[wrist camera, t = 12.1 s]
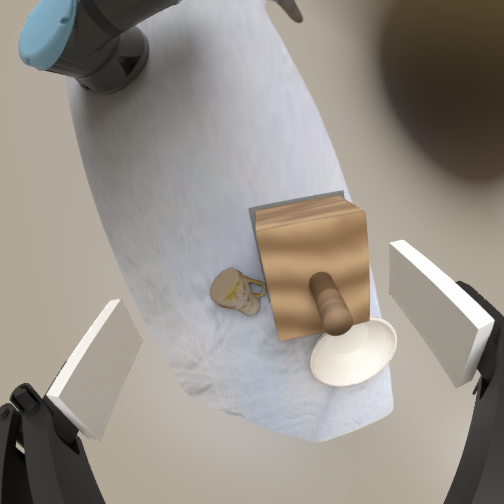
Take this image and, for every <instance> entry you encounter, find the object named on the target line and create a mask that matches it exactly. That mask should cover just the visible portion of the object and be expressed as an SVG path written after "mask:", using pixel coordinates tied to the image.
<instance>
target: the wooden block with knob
mask: <svg viewBox="0 0 504 504" xmlns="http://www.w3.org/2000/svg"><path fill="white" fill-rule="evenodd" d="M256 236H257V241H258V245H259V250H260V255H261V259H262V264H263V268H264V273H265V277H266V282H267V287H268V291H269V296H270V300H271V305H272V310H273V314H274V319H275V324H276V328H277V333H278V338H279V341H282V340H288V339H293V338H298V337H303V336H308V335H313V334H318V333H322V332H326V333H327V334H329V335H331V336H340V335H343V334H345V333H346V332H348V331H349V330H350V328H351V327H352V326H353V325H357V324H361V323H364V322H368V321H370V278H369V253H368V237H367V225H366V213H365V211H363V210H362V209H360V208H358V207H357V206H355V205H354V204H352V203H350V202H349V201H347V200H345V199H344V198H342V197H340V196H339V195H335V196H329V197H324V198H318V199H313V200H307V201H302V202H297V203H291V204H286V205H281V206H276V207H271V208H266V209H261V210H256Z"/></svg>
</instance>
